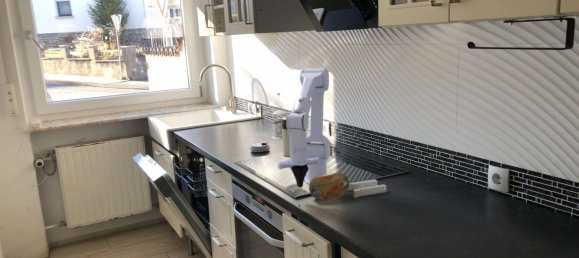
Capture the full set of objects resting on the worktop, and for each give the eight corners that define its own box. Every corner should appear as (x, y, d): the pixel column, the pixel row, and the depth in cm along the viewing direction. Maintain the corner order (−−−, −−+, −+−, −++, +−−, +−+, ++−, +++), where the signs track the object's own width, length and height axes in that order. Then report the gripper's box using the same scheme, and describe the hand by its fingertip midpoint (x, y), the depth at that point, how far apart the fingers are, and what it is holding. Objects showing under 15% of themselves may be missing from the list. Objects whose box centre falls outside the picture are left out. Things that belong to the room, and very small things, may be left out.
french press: (269, 136, 272) (266, 92, 267) (287, 134, 277) (285, 91, 272) (275, 140, 264) (273, 94, 259) (295, 137, 268) (293, 92, 263)
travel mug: (285, 157, 226) (284, 119, 222) (281, 153, 233) (280, 117, 230) (302, 155, 228) (300, 118, 224) (297, 152, 235) (296, 115, 232)
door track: (342, 189, 177) (342, 183, 177) (374, 185, 181) (374, 178, 181) (354, 197, 168) (354, 191, 168) (387, 192, 172) (387, 186, 172)
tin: (312, 202, 166) (311, 178, 164) (307, 199, 169) (307, 176, 167) (349, 194, 172) (349, 171, 171) (345, 192, 175) (344, 169, 173)
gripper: (281, 153, 158) (283, 192, 160) (322, 148, 162) (323, 186, 165) (275, 148, 164) (277, 186, 167) (315, 143, 169) (316, 181, 171)
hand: (299, 186), depth 166 cm, fingers closed
